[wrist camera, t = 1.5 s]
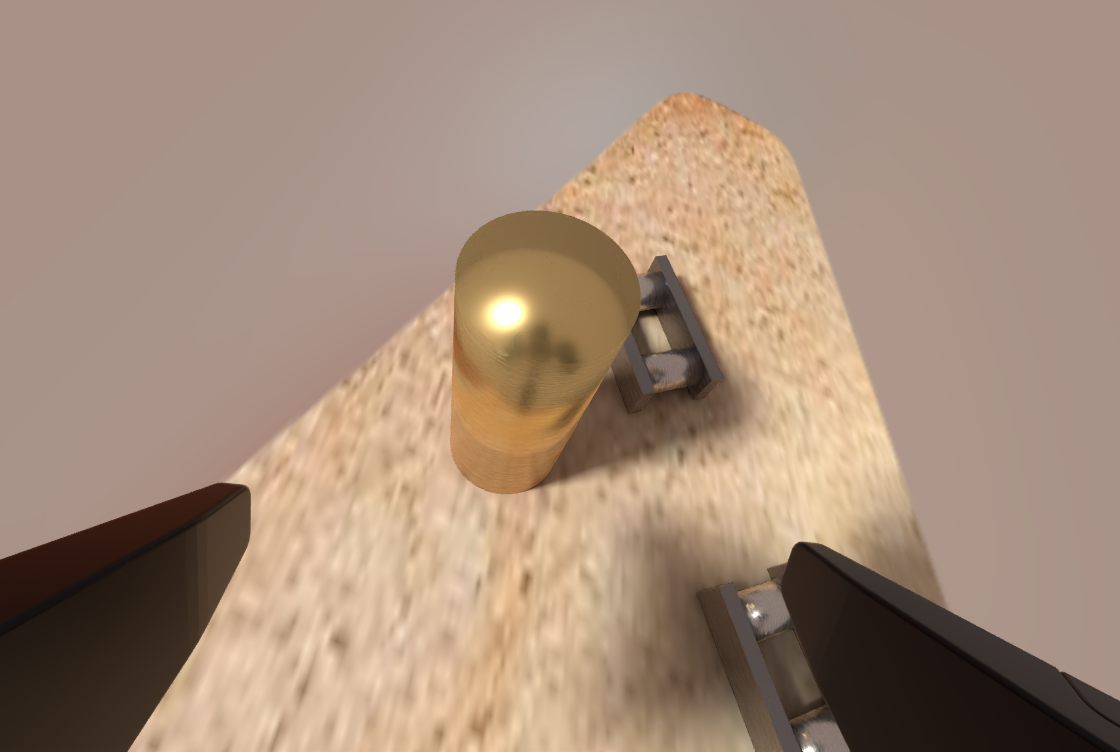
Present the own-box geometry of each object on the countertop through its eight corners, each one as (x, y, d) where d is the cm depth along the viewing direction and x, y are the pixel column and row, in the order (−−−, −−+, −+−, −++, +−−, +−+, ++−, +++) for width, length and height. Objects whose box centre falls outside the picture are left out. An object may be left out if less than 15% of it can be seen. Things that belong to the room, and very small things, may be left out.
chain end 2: (864, 758, 20) (905, 768, 18) (774, 803, 18) (809, 818, 17) (779, 564, 22) (807, 557, 21) (696, 592, 21) (718, 586, 19)
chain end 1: (704, 397, 26) (723, 378, 24) (628, 413, 24) (643, 394, 23) (652, 280, 28) (666, 255, 27) (582, 289, 27) (592, 263, 25)
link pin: (532, 513, 21) (603, 396, 12) (429, 463, 22) (418, 308, 12) (575, 419, 24) (663, 257, 14) (481, 374, 24) (507, 185, 14)
